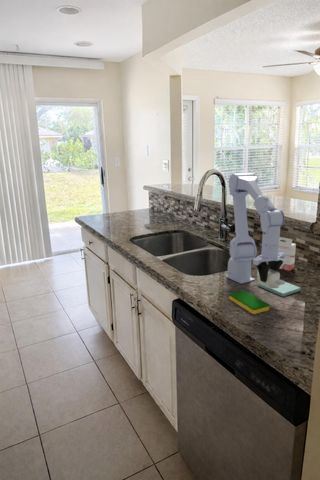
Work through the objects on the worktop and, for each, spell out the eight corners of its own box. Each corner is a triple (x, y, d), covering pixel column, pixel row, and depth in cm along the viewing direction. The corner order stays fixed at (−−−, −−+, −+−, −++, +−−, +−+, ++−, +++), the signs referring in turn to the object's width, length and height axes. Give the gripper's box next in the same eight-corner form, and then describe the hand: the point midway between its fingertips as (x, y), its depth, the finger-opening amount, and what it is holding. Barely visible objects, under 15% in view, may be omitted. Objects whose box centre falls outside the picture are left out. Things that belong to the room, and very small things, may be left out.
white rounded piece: (254, 281, 129) (255, 268, 128) (261, 278, 131) (262, 266, 130) (278, 291, 120) (279, 277, 118) (285, 288, 122) (287, 275, 120)
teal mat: (258, 286, 139) (258, 283, 139) (275, 280, 144) (275, 278, 144) (282, 296, 129) (283, 293, 129) (300, 290, 134) (300, 287, 134)
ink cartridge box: (294, 268, 158) (297, 237, 154) (289, 271, 155) (292, 239, 151) (276, 264, 164) (278, 234, 160) (271, 267, 160) (274, 236, 157)
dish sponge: (244, 296, 131) (244, 290, 131) (269, 311, 119) (270, 304, 119) (228, 299, 128) (228, 293, 128) (253, 315, 116) (253, 308, 116)
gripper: (264, 250, 115) (262, 288, 119) (293, 243, 122) (290, 279, 126) (249, 245, 121) (247, 281, 125) (277, 239, 128) (274, 273, 132)
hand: (267, 280), depth 126 cm, fingers closed on white rounded piece, 4 cm apart
